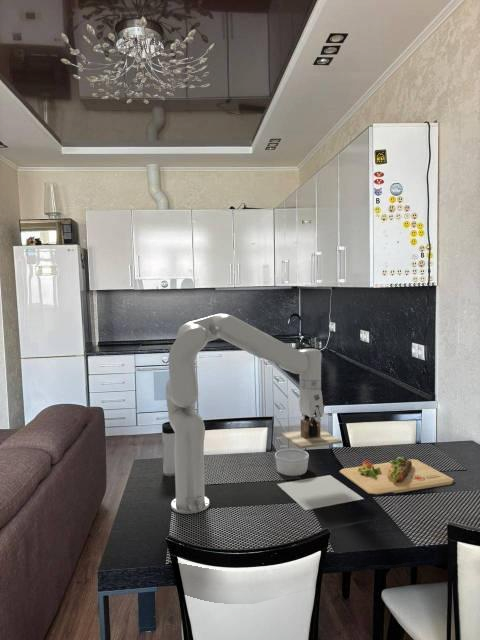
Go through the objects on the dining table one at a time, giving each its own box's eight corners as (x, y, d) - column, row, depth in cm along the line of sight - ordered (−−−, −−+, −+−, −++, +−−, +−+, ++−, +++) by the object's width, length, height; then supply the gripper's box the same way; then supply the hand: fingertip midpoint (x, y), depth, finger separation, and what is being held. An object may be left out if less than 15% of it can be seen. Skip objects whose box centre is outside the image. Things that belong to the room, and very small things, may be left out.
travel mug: (181, 470, 189) (180, 420, 188) (177, 476, 183) (176, 425, 181) (165, 470, 190) (164, 420, 188) (161, 476, 183) (160, 425, 182)
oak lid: (341, 443, 166) (342, 423, 165) (299, 448, 160) (299, 428, 160) (319, 430, 181) (319, 412, 180) (280, 434, 176) (280, 416, 175)
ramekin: (307, 479, 178) (307, 461, 178) (272, 477, 181) (272, 459, 181) (310, 466, 191) (309, 449, 191) (277, 464, 194) (277, 447, 194)
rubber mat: (364, 500, 160) (364, 498, 160) (305, 511, 152) (305, 510, 152) (330, 476, 181) (330, 475, 180) (276, 485, 173) (276, 484, 173)
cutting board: (371, 499, 163) (371, 477, 162) (337, 473, 185) (337, 454, 184) (456, 485, 173) (456, 464, 172) (414, 462, 195) (414, 444, 195)
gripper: (331, 387, 163) (331, 440, 164) (309, 379, 178) (309, 427, 180) (311, 389, 160) (311, 442, 162) (290, 380, 176) (291, 429, 177)
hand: (310, 434), depth 171 cm, fingers closed on oak lid, 3 cm apart
